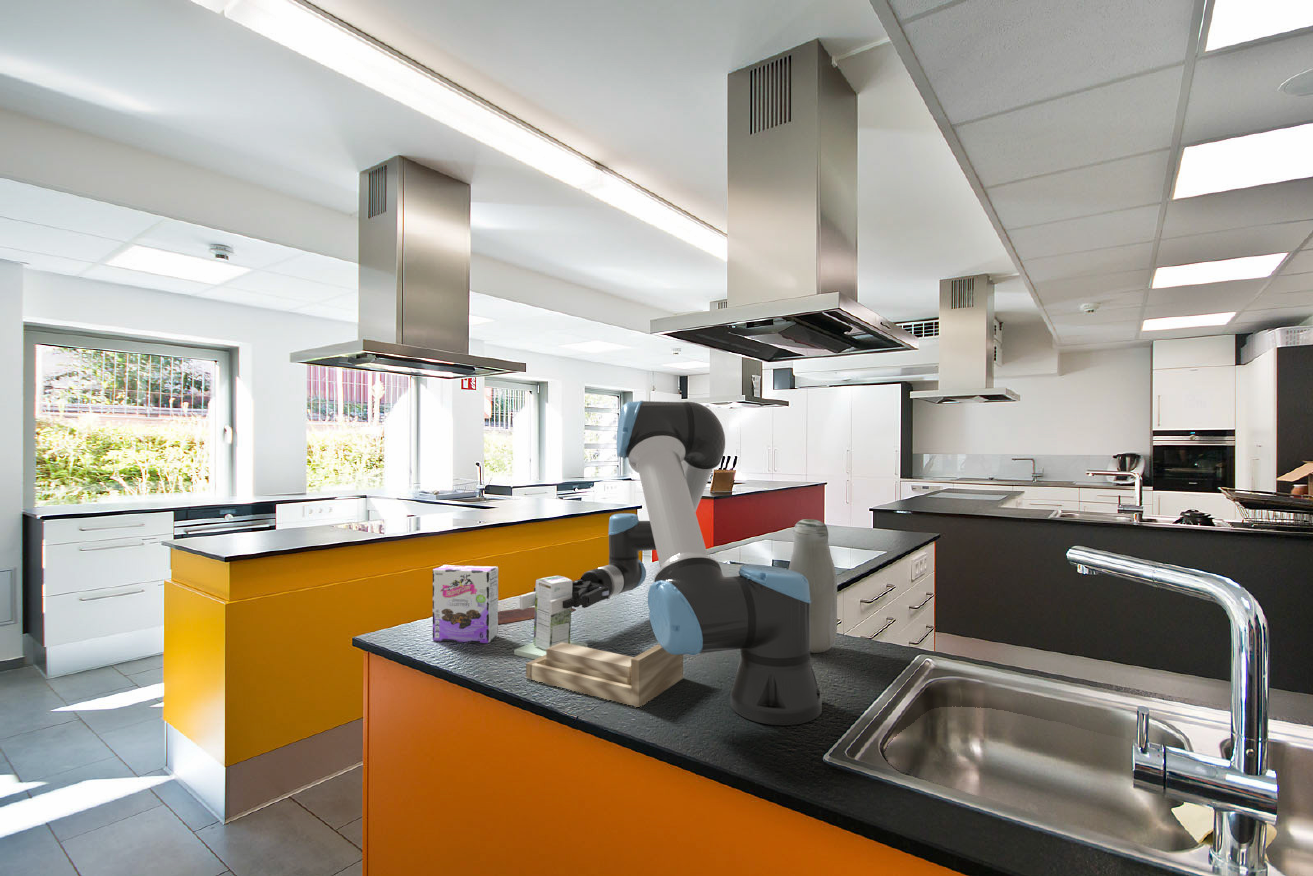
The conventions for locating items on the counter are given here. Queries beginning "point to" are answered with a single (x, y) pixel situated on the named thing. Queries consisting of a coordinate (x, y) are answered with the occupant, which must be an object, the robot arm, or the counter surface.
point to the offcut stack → (590, 662)
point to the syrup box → (557, 625)
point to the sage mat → (538, 650)
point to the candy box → (465, 603)
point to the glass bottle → (817, 580)
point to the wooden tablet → (517, 615)
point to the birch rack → (647, 682)
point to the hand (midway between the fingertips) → (535, 605)
